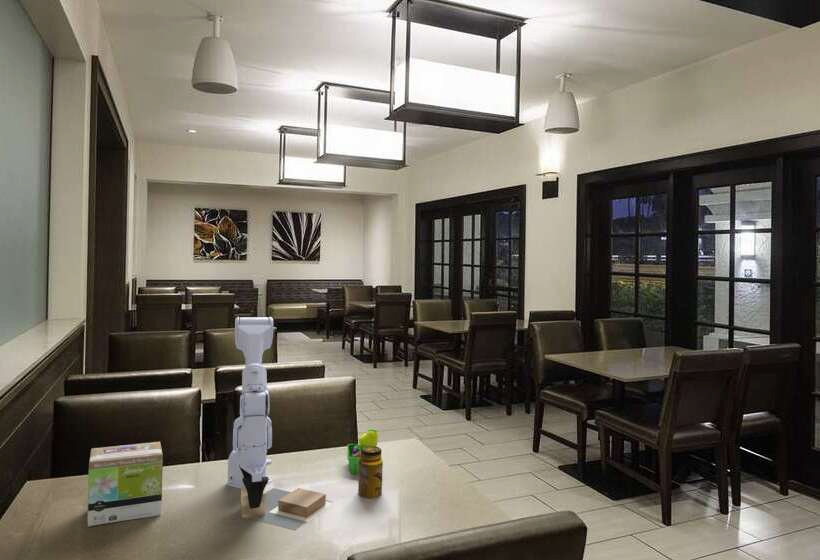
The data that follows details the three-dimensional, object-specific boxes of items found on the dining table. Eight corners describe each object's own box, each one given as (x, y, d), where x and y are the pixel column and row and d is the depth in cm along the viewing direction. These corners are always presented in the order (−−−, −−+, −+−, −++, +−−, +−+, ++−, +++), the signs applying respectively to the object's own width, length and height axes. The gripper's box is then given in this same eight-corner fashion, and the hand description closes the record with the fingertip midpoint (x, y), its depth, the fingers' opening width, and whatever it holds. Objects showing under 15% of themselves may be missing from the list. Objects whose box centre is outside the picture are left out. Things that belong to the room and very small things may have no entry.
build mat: (230, 514, 130) (230, 513, 130) (273, 489, 144) (273, 487, 144) (296, 532, 122) (296, 530, 122) (335, 503, 137) (335, 502, 137)
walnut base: (278, 510, 132) (278, 500, 132) (298, 497, 139) (298, 487, 139) (306, 517, 128) (307, 507, 128) (325, 504, 136) (325, 494, 136)
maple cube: (242, 517, 128) (242, 496, 127) (240, 508, 132) (241, 487, 132) (265, 514, 130) (265, 493, 129) (262, 505, 134) (262, 485, 134)
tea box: (86, 529, 121) (87, 462, 121) (89, 510, 130) (89, 447, 130) (162, 516, 128) (163, 452, 128) (159, 498, 137) (160, 439, 137)
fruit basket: (346, 460, 166) (347, 423, 166) (376, 460, 167) (377, 423, 167) (346, 475, 155) (347, 435, 155) (378, 475, 156) (379, 435, 156)
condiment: (388, 497, 142) (389, 450, 141) (358, 504, 137) (360, 456, 137) (374, 487, 148) (375, 442, 148) (345, 493, 143) (346, 447, 143)
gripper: (275, 451, 125) (274, 511, 125) (267, 432, 138) (266, 486, 139) (243, 454, 122) (242, 515, 123) (237, 435, 136) (236, 490, 136)
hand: (252, 500), depth 131 cm, fingers open, 7 cm apart
